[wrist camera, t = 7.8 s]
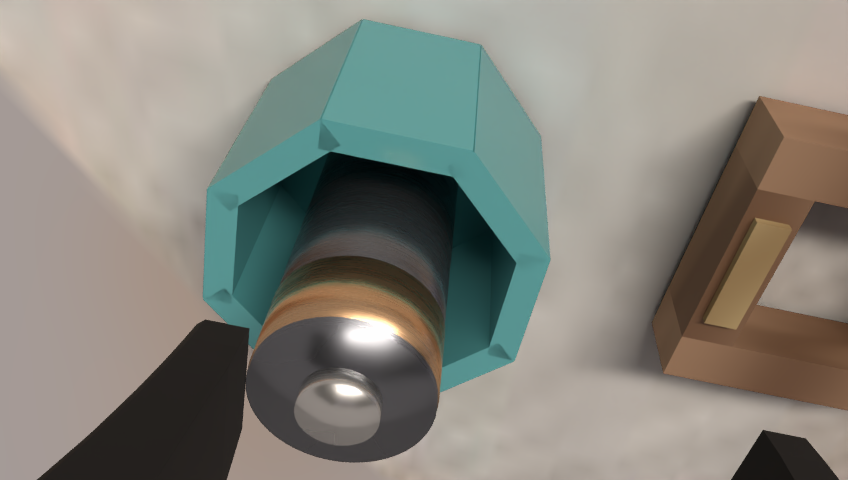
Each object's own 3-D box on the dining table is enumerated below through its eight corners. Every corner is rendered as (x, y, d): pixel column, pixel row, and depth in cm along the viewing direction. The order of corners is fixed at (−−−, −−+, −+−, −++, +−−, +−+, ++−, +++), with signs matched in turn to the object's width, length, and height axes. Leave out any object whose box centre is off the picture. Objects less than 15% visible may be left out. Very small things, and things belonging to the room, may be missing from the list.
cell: (485, 188, 20) (474, 443, 13) (378, 244, 21) (320, 502, 14) (410, 83, 18) (356, 310, 12) (300, 149, 19) (196, 388, 13)
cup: (579, 195, 20) (597, 326, 16) (369, 298, 23) (339, 434, 19) (433, -28, 17) (411, 62, 13) (211, 118, 20) (135, 232, 16)
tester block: (1050, 159, 19) (1108, 210, 17) (892, 371, 23) (925, 430, 21) (759, 96, 18) (787, 141, 17) (651, 322, 22) (664, 378, 21)
